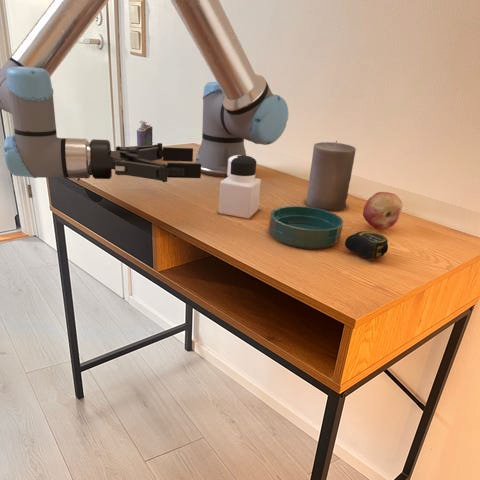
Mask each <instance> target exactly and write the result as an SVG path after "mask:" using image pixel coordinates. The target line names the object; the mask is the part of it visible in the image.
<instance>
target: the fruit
mask: <svg viewBox="0 0 480 480" xmlns="http://www.w3.org/2000/svg"><path fill="white" fill-rule="evenodd" d="M403 206H404V205H403V201H402V198H401V197H399V196H398V195H397V194H395V193H393V192H389V191H388V192H387V191H378V192H376V193H374V194H373V195H371V196H370V197H369V198H368V199H367V201H366V203H365V205H364V207H363V211H362V217H363V218H364V220H365V221H366V222H367V224H369V226H370V227H372V228H373V229H375V230H379V231H384V230H387V229H390V228H392V227H393V226H395V225H396V224H397V222H398V221H399V219H400V217H401V214H402V210H403Z"/></svg>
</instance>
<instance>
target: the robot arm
mask: <svg viewBox="0 0 480 480" xmlns="http://www.w3.org/2000/svg"><path fill="white" fill-rule="evenodd" d="M109 1H110V0H52V1H51V3H50V4H49V6H48V7H46V10H44V12H43V13H42V14H41V15H40V18H39V19H38V20H37V21H36V22H35V24H34V25H33V27H32V28H31V29H30V30H29V32H28V33H27V34H26V35H25V37H24V38H23V40H22V41H21V42H20V44H19V45H18V46H17V48H16V49H15V50H14V52H13V53H12V55H11V56H10V57H9V58H8V60H7V61H6V62H5V63H4V65H3V66H2V67H1V68H0V110H2V111H4V112H6V113H8V114H10V115H11V117H12V123H13V131H14V132H13V135H8V136H6V137H5V139H4V143H3V150H4V155H3V156H4V160H5V165H6V167H7V171H9V174H11V175H13V176H16V177H25V178H33V179H37V178H40V179H41V178H42V179H43V178H51V179H52V178H54V179H57V178H58V179H59V178H60V179H74V180H75V181H76V182H79V181H80V180H81V179H90V177H91V176H92V178H93V179H95V180H110V179H112V178H113V177H112V176H113V170H114V174H115V175H116V176H129V177H136V178H142V179H149V180H153V181H154V180H155V181H160V182H162V183H167V182H168V178H171V179H172V178H173V179H174V178H175V179H201V178H202V174H204V175H208V176H212V177H222V178H227V177H228V175H227V171H228V159H229V158H230V157H232V156H235V155H245V156H247V153H246V147H245V141H248V142H252V143H253V144H255V145H263V146H269V145H271V144H274V143H275V142H276V141H278V140H279V139H280V138H281V136H283V134H284V132H285V130H286V127H287V123H288V120H289V107H288V104H287V101H286V100H285V99H284V98H283V97H282V96H281V95H279V94H274V93H273V91H272V90H271V88H270V86H269V84H268V81H267V80H266V78H265V77H264V76H263V75H262V74H256V72H255V71H254V68H253V66H252V63H251V62H250V60H249V58H248V57H247V54H246V52H245V50H244V48H243V45H241V44H242V43H241V42H240V40H239V38H238V36H237V34H236V32H235V30H234V28H233V26H232V24H231V22H230V20H229V18H228V16H227V13H226V12H225V9H224V8H223V6H222V4H221V2H220V0H170V2H171V4H172V6H173V7H174V9H175V11H176V13H177V14H178V16H179V18H180V20H181V21H182V23H183V25H184V26H185V29H186V31H187V32H188V35H190V37H191V39H192V41H193V42H194V44H195V46H196V48H197V49H198V51H199V52H200V55H201V57H202V58H203V60H204V62H205V63H206V65H207V67H208V69H209V70H210V72H211V74H212V76H213V78H214V80H215V81H209V82H206V83H205V85H204V87H203V95H202V130H201V131H202V133H201V135H202V136H201V138H202V139H201V142H200V145H199V149H198V151H197V153H196V154H195V160H194V148H193V147H168V146H167V147H165V146H163V143H161V142H157V144H152V145H146V146H137V145H133V146H119V145H118V146H115V150H112V149H111V142H110V140H108V139H98V138H97V139H94V138H93V139H91V140H90V141H89V140H88V139H87V138H76V137H75V138H74V137H72V138H71V137H58V135H57V124H56V113H55V101H54V89H53V85H52V79H51V77H52V76H53V75H54V73H55V71H57V70H58V68H59V67H60V66H61V64H62V62H63V61H64V60H65V59H66V57H67V56H68V55H69V53H71V51H72V49H73V48H74V47H75V46H76V44H77V43H78V42H79V41H80V39H81V38H82V36H83V35H84V34H85V32H86V31H87V30H88V28H89V27H90V26H91V25H92V23H93V22H94V21H95V20H96V18H97V17H98V15H99V14H100V13H101V12H102V10H103V9H104V8H105V6H106V5H107V3H108V2H109ZM159 160H162V162H167V163H162V162H159Z"/></svg>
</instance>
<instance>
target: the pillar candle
mask: <svg viewBox="0 0 480 480" xmlns="http://www.w3.org/2000/svg"><path fill="white" fill-rule="evenodd" d="M356 149H357V148H356V146H353V145H351V144H345V143H341V142H338V140H335V142H334V141H333V142H332V141H331V142H330V141H329V142H328V141H326V142H325V141H323V142H316V143H314V144H313V150H312V158H311V165H310V172H309V179H308V186H307V192H306V201H305V202H306V205H307V206H308V207H314V208H319V209H323V210H327V211H329V212H333V211H334V212H336V211H342V210H345V208H347V206H346V205H347V199H348V196H349V195H348V194H349V189H350V182H351V178H352V171H353V167H354V161H355V157H356Z"/></svg>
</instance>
